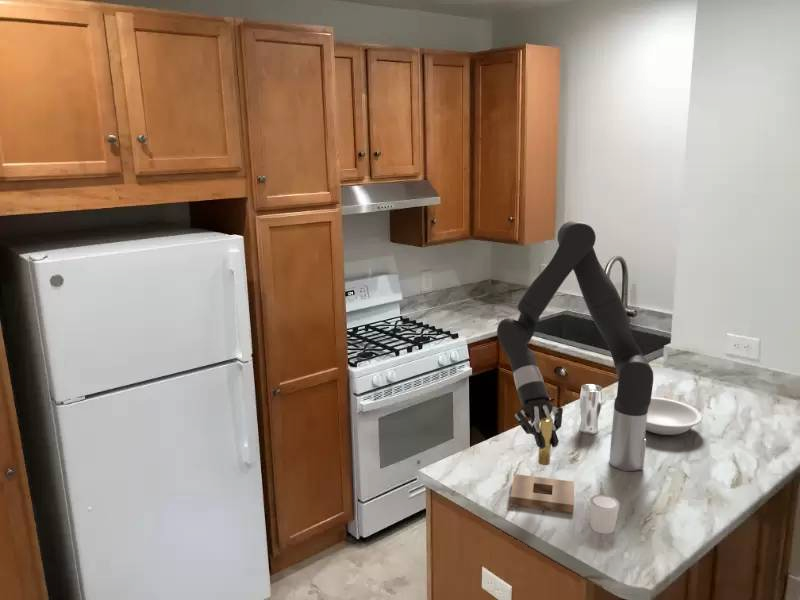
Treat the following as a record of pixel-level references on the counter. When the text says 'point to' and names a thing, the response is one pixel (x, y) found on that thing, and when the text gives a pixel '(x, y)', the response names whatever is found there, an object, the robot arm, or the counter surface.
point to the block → (556, 502)
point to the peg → (545, 441)
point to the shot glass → (603, 513)
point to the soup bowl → (671, 416)
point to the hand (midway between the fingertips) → (549, 446)
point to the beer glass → (590, 408)
